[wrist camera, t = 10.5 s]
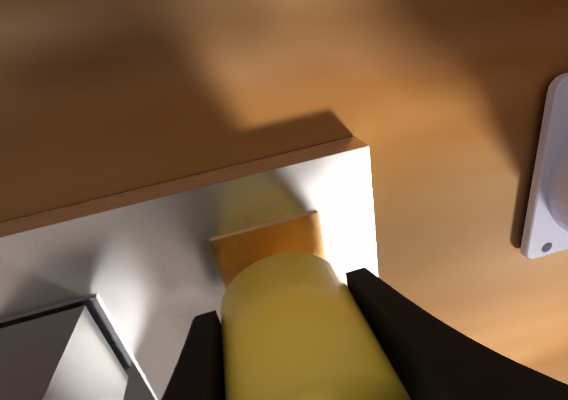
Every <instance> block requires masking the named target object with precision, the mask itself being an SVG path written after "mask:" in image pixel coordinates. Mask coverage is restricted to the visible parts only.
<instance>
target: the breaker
mask: <svg viewBox="0 0 568 400" xmlns="http://www.w3.org/2000/svg"><path fill="white" fill-rule="evenodd" d="M127 381H128V375H127V374H126V372H125V370H124V369H123V367H122V365H121V364H120V362H119V361H118V359H117V357H116V356H115V354H114V352H113V351H112V349H111V347H110V346H109V344H108V342H107V341H106V339H105V337H104V336H103V334H102V332H101V331H100V329H99V327H98V326H97V324H96V323H95V321H94V319H93V318H92V316H91V314H90V313H89V311H88V309H87V308H86V306H85V305H84V306H81V307H77V308H73V309H70V310H66V311H63V312H59V313H55V314H52V315H48V316H44V317H41V318H37V319H33V320H30V321H26V322H23V323H19V324H15V325H12V326H8V327H4V328H1V329H0V400H123V399H124V394H125V390H126V386H127Z"/></svg>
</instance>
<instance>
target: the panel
mask: <svg viewBox="0 0 568 400" xmlns="http://www.w3.org/2000/svg"><path fill="white" fill-rule="evenodd" d="M289 252H301V253H308V254H312V255H316V256H318V257H321V258H323V259H325V260H327V261H328V262H330V263H331V264H332V265H333V266H334V267H335V268H336V269H337V270H338V271H339V273H340V274H341V276H342V278H343V280H344V281H345V283H346V285H347V279H346V272H350V271H353V270H357V269H360V268H364V267H365V268H366V269H368V270H369V271H371V272H372V273H373V274H375V275H376V276H377V277H378V269H377V254H376V239H375V224H374V210H373V195H372V180H371V165H370V150H369V145H367V144H366V143H364V142H363V141H361V140H359V139H358V138H356V137H355V136H353V137H349V138H345V139H341V140H336V141H332V142H328V143H324V144H320V145H316V146H312V147H308V148H304V149H300V150H296V151H291V152H287V153H283V154H279V155H275V156H271V157H267V158H263V159H259V160H255V161H251V162H246V163H242V164H238V165H234V166H230V167H226V168H222V169H218V170H214V171H210V172H206V173H201V174H197V175H193V176H189V177H185V178H181V179H177V180H173V181H169V182H165V183H161V184H156V185H152V186H148V187H144V188H140V189H136V190H132V191H128V192H124V193H120V194H116V195H111V196H107V197H103V198H99V199H95V200H91V201H87V202H83V203H79V204H75V205H71V206H66V207H62V208H58V209H54V210H50V211H46V212H42V213H38V214H34V215H30V216H26V217H21V218H17V219H13V220H9V221H5V222H1V223H0V329H1V328H4V327H8V326H12V325H15V324H19V323H23V322H26V321H30V320H33V319H37V318H41V317H44V316H48V315H52V314H55V313H59V312H63V311H66V310H70V309H73V308H77V307H81V306H84V305H85V306H86V308H87V309H88V311H89V313H90V314H91V316H92V318H93V319H94V321H95V323H96V324H97V326H98V327H99V329H100V331H101V332H102V334H103V336H104V337H105V339H106V341H107V342H108V344H109V346H110V347H111V349H112V351H113V352H114V354H115V356H116V357H117V359H118V361H119V362H120V364H121V365H122V367H123V369H124V370H125V372H126V374H127V375H128V381H127V386H126V390H125V394H124V399H123V400H161V399H162V396H163V394H164V392H165V390H166V388H167V385H168V383H169V381H170V378H171V376H172V374H173V371H174V369H175V366H176V364H177V362H178V359H179V357H180V354H181V351H182V349H183V346H184V343H185V341H186V338H187V335H188V332H189V329H190V326H191V323H192V320H193V319H194V317H195V316H197V315H201V314H204V313H208V312H211V311H214V310H216V312H217V315H218V318H219V320H220V323H221V317H220V308H221V302H222V298H223V295H224V293H225V291H226V289H227V288H228V286H229V284H230V283H231V282H232V281H233V279H234V278H235V277H236V276H237V275H238V274H239V273H240V272H242V271H243V270H244V269H246V268H247V267H248V266H250V265H252V264H253V263H255V262H257V261H259V260H261V259H263V258H266V257H269V256H272V255H276V254H281V253H289Z"/></svg>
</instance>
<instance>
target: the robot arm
mask: <svg viewBox="0 0 568 400" xmlns="http://www.w3.org/2000/svg"><path fill="white" fill-rule="evenodd" d="M565 249H568V73H564V74H561V75H559V76H557V77H556V78H555V79H554V80H553V81H552V82H551V84H550V85H549V88H548V91H547V97H546V102H545V108H544V114H543V120H542V126H541V132H540V137H539V143H538V149H537V155H536V161H535V167H534V172H533V178H532V184H531V190H530V196H529V202H528V207H527V213H526V219H525V225H524V231H523V236H522V242H521V248H520V251H521V253H522V255H524V256H525V257H527V258H529V259H535V258H538V257H542V256H545V255H548V254H552V253H555V252H558V251H562V250H565ZM346 279H347V287H348V288H349V290H350V292H351V294H352V295H353V297H354V299H355V301H356V303H357V304H358V306H359V308H360V310H361V311H362V313H363V315H364V317H365V319H366V320H367V322H368V324H369V326H370V327H371V329H372V331H373V333H374V335H375V336H376V338H377V340H378V342H379V343H380V345H381V347H382V349H383V350H384V352H385V354H386V356H387V358H388V359H389V361H390V363H391V365H392V366H393V368H394V370H395V372H396V374H397V375H398V377H399V379H400V381H401V382H402V384H403V386H404V388H405V390H406V391H407V393H408V395H409V397H410V400H568V385H567V384H565V383H562V382H560V381H558V380H555V379H553V378H551V377H549V376H546V375H544V374H542V373H540V372H537V371H535V370H533V369H531V368H528V367H526V366H524V365H522V364H519V363H517V362H515V361H513V360H511V359H509V358H507V357H505V356H503V355H501V354H499V353H497V352H495V351H493V350H491V349H489V348H487V347H485V346H483V345H482V344H480V343H478V342H476V341H474V340H472V339H471V338H469V337H467V336H465V335H464V334H462V333H460V332H458V331H457V330H455V329H453V328H452V327H450V326H448V325H447V324H445V323H443V322H442V321H440V320H439V319H437V318H435V317H434V316H432V315H431V314H429V313H428V312H426V311H425V310H423V309H422V308H420V307H419V306H417V305H416V304H414V303H413V302H411V301H410V300H409V299H407V298H406V297H404V296H403V295H401V294H400V293H399V292H397V291H396V290H395V289H393V288H392V287H390V286H389V285H388V284H386V283H385V282H384V281H382V280H381V279H380V278H379V277H377V276H376V275H375V274H373V273H372V272H371V271H369V270H368V269H366V268H365V267H364V268H360V269H357V270H353V271H350V272H346ZM161 400H225V383H224V367H223V350H222V333H221V323H220V320H219V318H218V315H217V312H216V310H214V311H211V312H208V313H204V314H201V315H197V316H195V317H194V319H193V320H192V323H191V326H190V329H189V332H188V335H187V338H186V341H185V343H184V346H183V349H182V351H181V354H180V357H179V359H178V362H177V364H176V366H175V369H174V371H173V374H172V376H171V378H170V381H169V383H168V385H167V388H166V390H165V392H164V394H163V396H162V399H161Z"/></svg>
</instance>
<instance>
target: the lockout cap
mask: <svg viewBox="0 0 568 400" xmlns="http://www.w3.org/2000/svg"><path fill="white" fill-rule="evenodd" d="M220 317H221V333H222V350H223V367H224V383H225V400H410V397H409V395H408V393H407V391H406V390H405V388H404V386H403V384H402V382H401V381H400V379H399V377H398V375H397V374H396V372H395V370H394V368H393V366H392V365H391V363H390V361H389V359H388V358H387V356H386V354H385V352H384V350H383V349H382V347H381V345H380V343H379V342H378V340H377V338H376V336H375V335H374V333H373V331H372V329H371V327H370V326H369V324H368V322H367V320H366V319H365V317H364V315H363V313H362V311H361V310H360V308H359V306H358V304H357V303H356V301H355V299H354V297H353V295H352V294H351V292H350V290H349V288H348V287H347V285H346V283H345V281H344V280H343V278H342V276H341V274H340V273H339V271H338V270H337V269H336V268H335V267H334V266H333V265H332V264H331V263H330V262H328V261H327V260H325V259H323V258H321V257H318V256H316V255H312V254H308V253H301V252H289V253H281V254H276V255H272V256H269V257H266V258H263V259H261V260H259V261H257V262H255V263H253V264H252V265H250V266H248V267H247V268H246V269H244V270H243V271H242V272H240V273H239V274H238V275H237V276H236V277H235V278H234V279H233V281H232V282H231V283H230V284H229V286H228V288H227V289H226V291H225V293H224V295H223V298H222V302H221V308H220Z"/></svg>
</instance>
